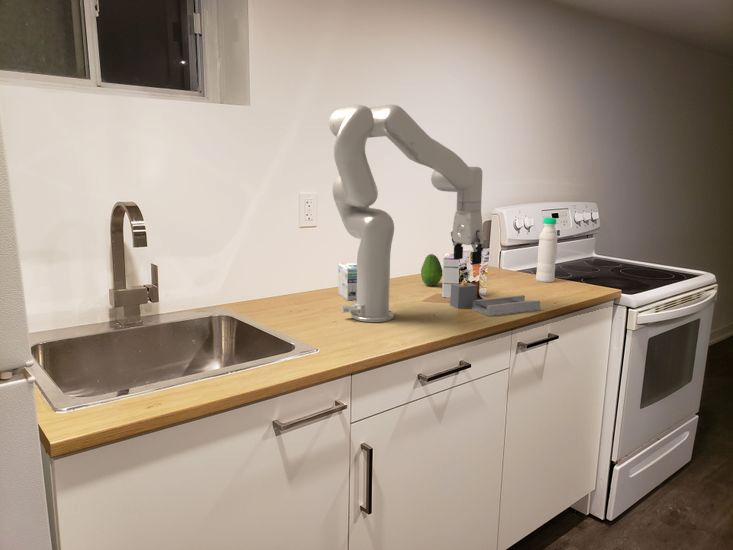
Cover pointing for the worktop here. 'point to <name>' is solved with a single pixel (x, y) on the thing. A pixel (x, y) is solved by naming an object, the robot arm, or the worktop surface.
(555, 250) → the milk bottle
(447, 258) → the syrup box
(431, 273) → the avocado
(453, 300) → the block
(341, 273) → the light bulb box
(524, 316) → the worktop surface
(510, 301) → the rail
